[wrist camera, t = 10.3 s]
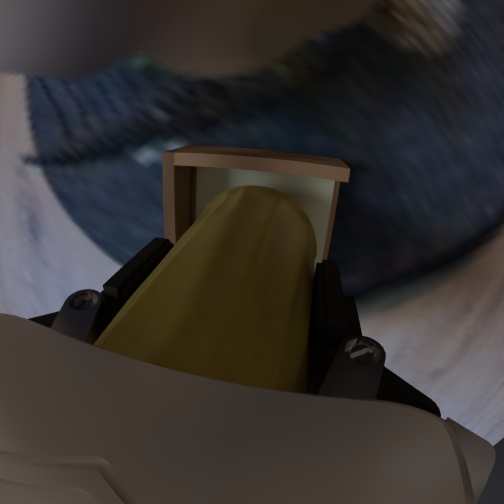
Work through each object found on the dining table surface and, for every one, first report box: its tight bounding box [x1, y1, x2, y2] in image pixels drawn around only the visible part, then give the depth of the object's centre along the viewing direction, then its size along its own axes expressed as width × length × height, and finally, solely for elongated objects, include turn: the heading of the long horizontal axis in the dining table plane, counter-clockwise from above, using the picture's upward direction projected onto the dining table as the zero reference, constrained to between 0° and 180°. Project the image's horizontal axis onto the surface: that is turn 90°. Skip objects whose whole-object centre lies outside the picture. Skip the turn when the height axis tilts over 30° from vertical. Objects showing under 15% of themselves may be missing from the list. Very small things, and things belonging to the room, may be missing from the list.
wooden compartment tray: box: [163, 145, 350, 272], centre depth 17 cm, size 8×17×4 cm, turn 176°
